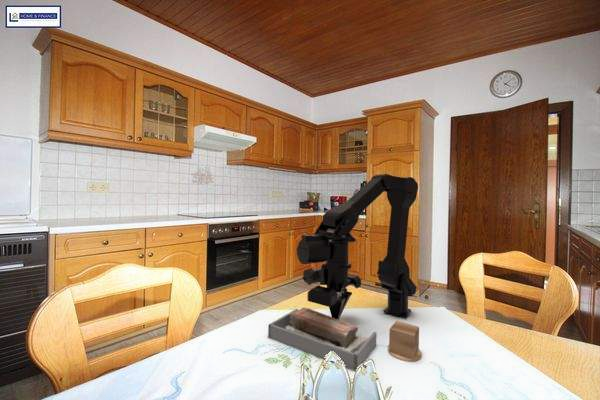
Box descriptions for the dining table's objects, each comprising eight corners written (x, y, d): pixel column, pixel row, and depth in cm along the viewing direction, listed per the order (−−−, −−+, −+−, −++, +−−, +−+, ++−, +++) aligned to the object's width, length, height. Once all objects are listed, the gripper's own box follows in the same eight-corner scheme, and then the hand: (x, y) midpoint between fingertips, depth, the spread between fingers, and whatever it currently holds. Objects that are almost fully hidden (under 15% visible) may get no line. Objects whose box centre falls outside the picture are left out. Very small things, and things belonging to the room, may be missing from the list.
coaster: (392, 340, 66) (392, 338, 66) (424, 350, 62) (424, 348, 62) (383, 354, 61) (383, 352, 61) (417, 365, 57) (417, 363, 57)
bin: (296, 319, 76) (296, 308, 76) (376, 345, 64) (376, 332, 64) (268, 337, 67) (268, 324, 67) (356, 371, 54) (356, 355, 54)
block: (395, 342, 65) (396, 320, 65) (418, 349, 62) (419, 326, 62) (389, 351, 61) (389, 328, 61) (413, 359, 58) (413, 335, 58)
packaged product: (283, 313, 70) (308, 302, 77) (282, 333, 70) (307, 320, 77) (346, 339, 58) (368, 322, 66) (346, 362, 58) (368, 343, 66)
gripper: (326, 250, 83) (325, 302, 84) (289, 262, 68) (288, 326, 68) (362, 255, 77) (360, 312, 77) (330, 269, 62) (328, 340, 62)
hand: (335, 321), depth 71 cm, fingers closed
